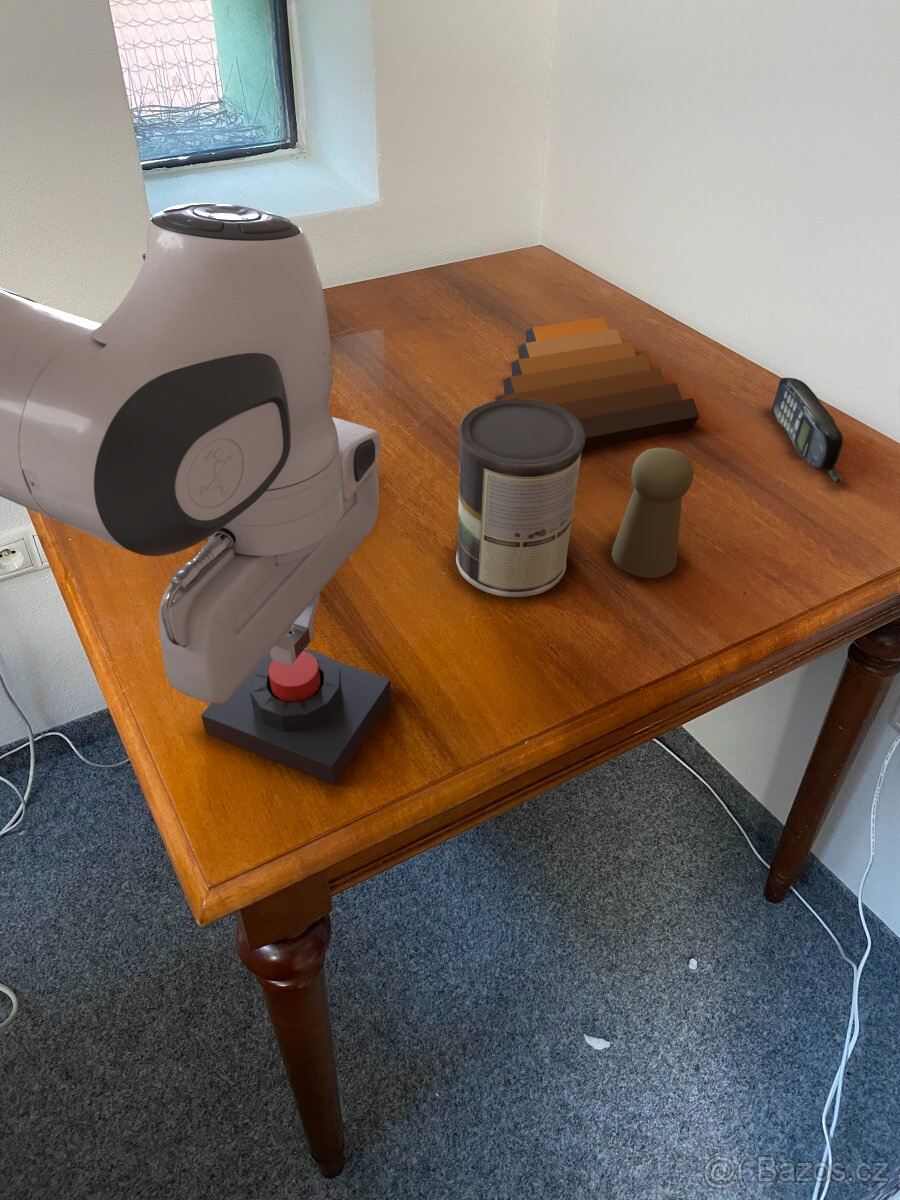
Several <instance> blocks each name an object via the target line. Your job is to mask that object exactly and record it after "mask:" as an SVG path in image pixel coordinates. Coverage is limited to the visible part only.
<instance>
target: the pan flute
mask: <svg viewBox="0 0 900 1200" xmlns="http://www.w3.org/2000/svg"><path fill="white" fill-rule="evenodd" d="M525 341H526V342H524V343H522V344H520V345H519V346H518V359H516V360H514V361H512V362H511V364H510V365H511V376H509V377H507V378H504V379H503V394H502V395H499V396H497V397H494V401H496V400H502V399H513V398H514V399H521V398H522V399H533V400H539V401H543V402H547V403H551V404H554V405H556V406H559V407H561V408H563V409H565V410H567V411H568V412H570V413H571V414H573V415H574V416H575V417H576V418H577V419H578V420H579V421H580V423H581V424H582V426H583V427H584V430H585V444H584V448H583V450H582V452H583V451H588V450H595V449H599V448H604V447H610V446H615V445H621V444H625V443H630V442H635V441H640V440H645V439H650V438H656V437H660V436H666V435H670V434H675V433H682V432H686V431H691V430H693V429H694V427H695V426H696V423H697V421H698V420H699V418H700V413H699V411H698V407H697V404H696V401H695V399H694V397H690V398H685V399H683V397H682V394H681V390H680V388H679V386H678V383H677V382H673V383H667V382H666V380H665V377H664V374H663V370H662V368H660V367H659V368H653V369H651V366H650V363H649V360H648V358H647V355H646V354H645V353H644V354H640V355H636V351H635V350H634V345H633V343H632V341H631V340H630V341H623V342H622V338H621V335H620V333H619V330H618V328H613V329H609V328H608V325H607V321H606V318H605V316H599V317H592V318H586V319H580V320H573V321H566V322H560V323H552V324H546V325H540V326H539V325H538V326H533V327H530V328H528V329H527V330H525Z"/></svg>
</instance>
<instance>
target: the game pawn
mask: <svg viewBox="0 0 900 1200" xmlns="http://www.w3.org/2000/svg"><path fill="white" fill-rule="evenodd" d="M630 477H631V482H632V485H633V488H634V489H633V492H632V494H631V497H630V500H629V502H628V505H627V508H626V511H625V513H624V516H623V518H622V522H621V524H620V527H619V529H618V532H617V534H616V537H615V541H614V542H613V546H612V548H611V549H612V550H611V553H610V554H611V558H612V560H613V562H614V563H615V565H616V566H617V567H618V568H619V569H621V570H622V571H624V572H625V573H628V574H630V575H632V576H634V577H640V578H643V579H647V578H649V579H651V578H653V579H655V578H660V577H663V576H667V575H668V574H670V573H672V572H673V570H674V569H675V567H676V566H677V560H678V549H679V537H680V527H681V526H680V525H681V513H682V503H683V502H682V501H683V497H684V496H685V495H686V494H687V493H688V491H690V488H691V486H692V483H693V480H694V468H693V465H692V463H691V460H690V459H689V458H688V457H687V455H685V454H684V453H682V452H680V451H678V450H675V449H672V448H668V447H654V448H648V449H647V450H644V451H643V452H641V453H640V454H639V455H638V456H637V457H636V458H635V460H634V462H633V465H632V469H631V475H630Z"/></svg>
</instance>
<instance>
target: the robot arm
mask: <svg viewBox="0 0 900 1200" xmlns="http://www.w3.org/2000/svg"><path fill="white" fill-rule="evenodd" d="M145 254H146V257H145V260H144V259H143V263H142V265H141V267H140V270H139V272H138V274H137V276H136V278H135V281H134V282H133V284H132V285H131V287H130V288H129V291H128V292H127V294H126V295H125V297H124V298H123V300H122V301H121V302H120V304H119V305H118V306H117V307H116V309H115V310H114V311H113V312H112V314H111V315H109V317H108V318H106V319H105V320H104V321H103V322H102V323H98V322H95V321H92V320H89V319H86V318H83V317H80V316H78V315H77V316H76V315H73V314H71V313H67V312H65V311H61V310H58V309H55V308H52V307H49V306H46V305H43V304H41V303H39V302H37V301H35V300H33V299H31V298H29V297H26V296H23V295H21V294H18V293H16V292H13V291H10V290H7V289H5V288H3V287H0V497H1V498H4V499H6V500H7V501H10V502H12V503H15V504H17V505H19V506H21V507H24V508H26V509H29V510H31V511H33V512H35V513H38V514H40V515H42V516H45V517H47V518H48V519H51V520H54V521H56V522H58V523H60V524H63V525H66V526H69V527H71V528H74V529H76V530H77V531H79V532H83V533H85V534H87V535H89V536H91V537H94V538H96V539H99V540H101V541H104V542H106V543H108V544H111V545H113V546H114V547H115V546H116V547H118V548H121V549H124V550H127V551H130V552H132V553H135V554H138V555H140V556H146V557H147V556H148V557H162V556H169V555H172V554H177V553H179V552H181V551H185V550H187V549H189V548H191V547H194V546H196V545H197V544H199V543H201V542H203V541H205V540H208V541H207V542H205V543H204V544H203V546H202V547H201V548H200V549H199V550H198V551H197V552H196V554H195V555H194V556H193V557H192V558H191V559H190V560H189V561H188V562H186V563H184V564H183V565H181V566H180V567H179V568H178V569H177V570H176V571H175V572H174V574H173V575H172V577H171V579H170V583H169V585H168V586H167V588H166V589H165V591H164V592H163V594H162V597H161V600H160V603H159V609H158V627H159V628H158V630H159V639H160V640H159V641H160V646H161V647H160V648H161V653H162V654H161V655H162V660H163V665H164V670H165V674H166V678H167V681H168V684H169V685H170V686H171V687H172V688H173V689H174V690H175V691H177V692H179V693H181V694H183V695H185V696H188V697H189V698H193V699H194V700H197V701H200V702H201V701H202V702H205V703H209V704H211V703H215V704H222V703H225V702H226V701H227V700H228V699H229V698H230V697H231V696H232V695H233V694H234V692H235V691H236V690H237V689H238V688H239V687H240V685H241V684H242V683H243V682H244V681H245V679H246V678H247V677H248V676H249V675H250V674H251V672H252V671H253V670H254V669H255V668H256V667H257V665H258V664H259V663H260V662H261V661H262V659H263V658H264V657H265V656H266V655H267V654H268V652H269V651H270V655H271V657H272V659H274V660H275V661H277V662H279V663H282V664H285V665H288V666H291V665H292V664H293V663H294V662H295V660H296V659H297V658H298V656H299V655H300V654H301V653H302V651H303V650H304V649H307V647H308V646H309V644H311V642H312V641H313V640H314V638H315V634H314V627H313V626H314V625H313V623H314V620H315V616H316V612H317V609H318V605H319V601H320V598H321V591H322V590H323V589H324V588H325V587H326V586H327V585H328V583H329V582H330V581H331V580H332V578H333V577H334V576H335V575H336V574H337V573H338V571H339V570H340V569H341V568H342V566H344V565H345V563H346V562H347V561H348V559H350V557H351V556H352V555H353V554H354V553H355V551H356V550H357V549H358V548H359V547H360V545H361V544H362V543H364V541H365V540H366V539H367V537H368V536H369V535H370V534H371V533H372V532H373V529H374V527H375V524H376V522H377V518H378V515H379V510H380V481H379V468H378V467H379V466H378V464H377V461H378V459H379V457H380V454H381V437H380V433H379V431H378V430H376V429H373V428H370V427H367V426H365V425H362V424H359V423H356V422H355V423H354V422H352V421H348V420H346V419H342V418H338V417H334V416H332V415H331V411H330V395H331V391H332V387H333V383H334V382H333V381H334V367H333V365H334V364H333V354H332V344H331V343H332V342H331V333H330V325H329V318H328V311H327V304H326V300H325V294H324V287H323V284H322V279H321V274H320V271H319V267H318V264H317V260H316V257H315V254H314V251H313V249H312V246H311V244H310V241H309V239H308V237H307V235H306V234H305V232H304V231H303V230H302V229H301V228H300V227H299V226H297V224H295V223H293V222H292V221H291V220H290V219H288V218H286V217H283V216H281V215H278V214H275V213H272V212H268V211H264V210H261V209H257V208H253V207H249V206H242V205H237V204H232V205H230V204H217V203H213V202H210V203H209V202H199V203H187V204H179V205H175V206H170V207H168V208H167V207H166V208H165V209H164V210H162V211H159V212H157V213H155V214H154V215H153V216H151V218H150V219H149V220H148V224H147V230H146V253H145Z"/></svg>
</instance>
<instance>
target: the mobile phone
mask: <svg viewBox="0 0 900 1200" xmlns="http://www.w3.org/2000/svg"><path fill="white" fill-rule="evenodd" d="M773 399H774V400H773V402H772V407H771V413H772V414H773V416H774V418H775V419H776V420H777V422H778V423H779V425H780V426H781V428H782V429H783V430H784V432H785V433H786V435H787V436H788V437H789V439H790V441H791V442H792V445H793V447H794V448H795V450H796V452H797V454H798V456H799V457H800V458H801V459H802V460H803V461H804V462H805V463H807V465H810V466H811V467H812V468H813V469H814V470H817V471H824V472H826V473H827V475H829V477H830V478H831V479H832V480H833V482H835V483H836V484H839V483H841V482H842V478H841V476H840V475H839V474H838V473H837V472H836V464H837V462H838V459H839V457H840V455H841V452H842V448H843V442H844V437H843V433H842V432H841V431H840V429H839V427H838V426H837V424H836V421H835V419H834V418H833V416H832V415H831V414H830V412H829V411H828V410H827V409H826V407H825V406H824V405H823V404H822V402H821V401H820V400H819V398H818V397H817V395H816V394H815V393H814V391H813V390H812V389H811V388H810V387H809V386H808V385H807V384H806V383H805V382H804V381H802V380H800V379H798V378H795V377H782V378H780V380H779V382H778V385H777V389H776V392H775V396H774V398H773Z"/></svg>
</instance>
